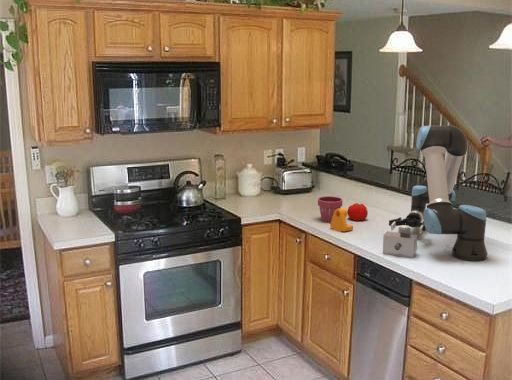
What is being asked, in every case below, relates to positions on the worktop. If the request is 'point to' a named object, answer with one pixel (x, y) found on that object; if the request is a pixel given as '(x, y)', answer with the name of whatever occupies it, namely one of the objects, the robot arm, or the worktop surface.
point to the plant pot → (328, 206)
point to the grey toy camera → (400, 243)
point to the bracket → (340, 220)
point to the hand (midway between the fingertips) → (405, 229)
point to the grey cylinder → (404, 228)
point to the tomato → (357, 212)
